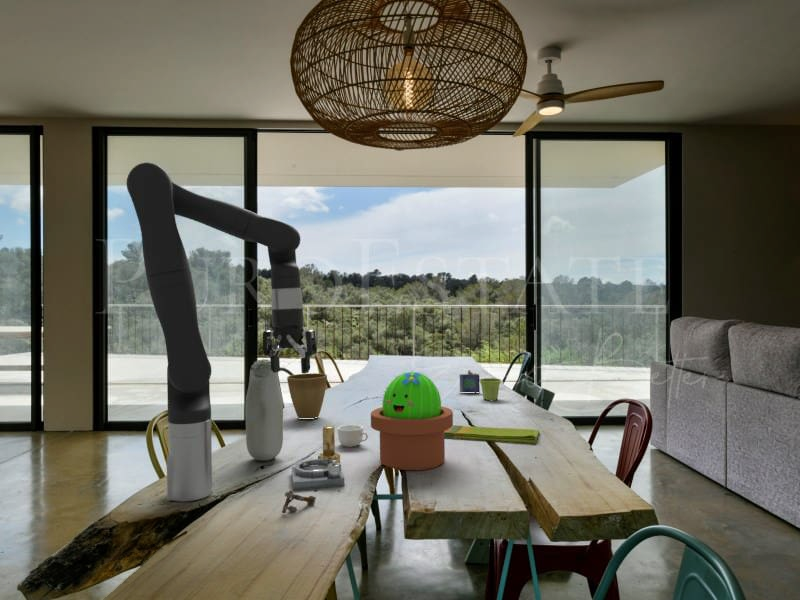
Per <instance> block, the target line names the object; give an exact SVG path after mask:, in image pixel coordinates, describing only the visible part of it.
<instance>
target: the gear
mask: <svg viewBox="0 0 800 600" xmlns="http://www.w3.org/2000/svg"><path fill="white" fill-rule="evenodd" d="M335 429H336V428H335V425H325V426H322V452H321V453H319V454H318V455H317V459H330V460H337V463H340V464H341V453H338V452H337V451H336V446H335V445H336V442H335V441H336V440H335V438H336V436H335V433H336V432H335V431H336V430H335Z"/></svg>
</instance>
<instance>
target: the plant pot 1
mask: <svg viewBox="0 0 800 600" xmlns="http://www.w3.org/2000/svg"><path fill="white" fill-rule="evenodd" d="M286 379H287V380H286V381H287V385H288V390H289V394H290V395H289V396H290V398H291V402H292V405H293V408H294V411H295V413H296V416H297V418H298V417H299V418H315V417H318V416H320V414H321V410H322V406H323V403H324V398H325V394H326V387H327V380H328V374H326V373H300V374H299V373H298V374H293V375H288V376H287V377H286ZM318 418H319V417H318Z"/></svg>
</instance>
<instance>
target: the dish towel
mask: <svg viewBox="0 0 800 600" xmlns="http://www.w3.org/2000/svg"><path fill="white" fill-rule="evenodd" d="M539 434H540V430H539V429H531V428H530V429H529V428H527V429H526V428H510V427H488V426H487V427H486V426H485V427H483V426H468V425H457V424H453V425H452V427H451V428H449V429H447V430H445V431H444V439H452V440H453V439H454V440H462V441H463V440H464V441H466V440H467V441H478V442H479V441H480V442H481V441H482V442H495V443H509V444H522V445H523V444H526V445H536V443H537V440H538V438H539Z"/></svg>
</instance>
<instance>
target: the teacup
mask: <svg viewBox="0 0 800 600" xmlns="http://www.w3.org/2000/svg"><path fill="white" fill-rule="evenodd" d="M364 435H365V439H363V438H364ZM337 438H338V439H337V440H338V442H339V443H340V445H341V446H343V447H345V446H346V447H345V448H353V447H352V446H355V447H357V445H358V446H359V445H360V444H361V443H362V442H365V441H367V440H368V438H369V437H368V433H367V432H365V431H364V426H363V425H359V424H345V425H340V426H338V427H337Z"/></svg>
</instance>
